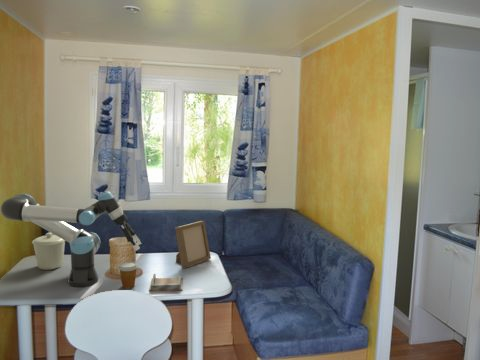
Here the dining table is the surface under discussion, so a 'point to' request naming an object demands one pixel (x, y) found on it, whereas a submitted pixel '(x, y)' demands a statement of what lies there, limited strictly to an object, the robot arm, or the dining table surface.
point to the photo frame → (192, 244)
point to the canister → (49, 251)
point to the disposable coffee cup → (128, 274)
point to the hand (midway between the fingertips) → (138, 247)
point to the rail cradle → (166, 284)
